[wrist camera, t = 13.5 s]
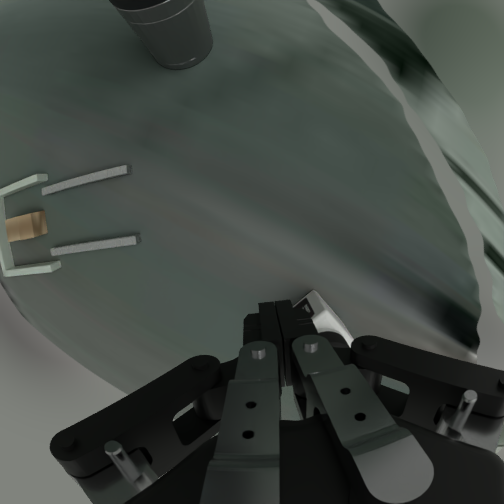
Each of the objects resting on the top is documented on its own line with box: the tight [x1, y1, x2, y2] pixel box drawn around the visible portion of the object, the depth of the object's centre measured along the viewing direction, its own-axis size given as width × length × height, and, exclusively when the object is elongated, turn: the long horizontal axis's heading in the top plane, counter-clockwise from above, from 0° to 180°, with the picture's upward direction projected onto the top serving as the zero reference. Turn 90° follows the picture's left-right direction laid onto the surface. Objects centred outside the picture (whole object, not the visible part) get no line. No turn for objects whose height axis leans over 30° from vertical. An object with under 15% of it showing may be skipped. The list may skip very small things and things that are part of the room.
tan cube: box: [17, 211, 48, 240], centre depth 36 cm, size 4×4×4 cm
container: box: [293, 290, 354, 348], centre depth 36 cm, size 8×8×13 cm
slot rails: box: [42, 165, 141, 256], centre depth 37 cm, size 11×17×2 cm
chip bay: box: [0, 174, 61, 277], centre depth 37 cm, size 16×15×3 cm
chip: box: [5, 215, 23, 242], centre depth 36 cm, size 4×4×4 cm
